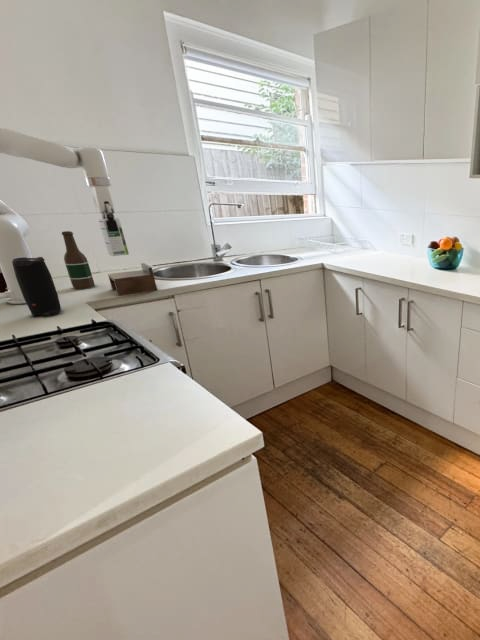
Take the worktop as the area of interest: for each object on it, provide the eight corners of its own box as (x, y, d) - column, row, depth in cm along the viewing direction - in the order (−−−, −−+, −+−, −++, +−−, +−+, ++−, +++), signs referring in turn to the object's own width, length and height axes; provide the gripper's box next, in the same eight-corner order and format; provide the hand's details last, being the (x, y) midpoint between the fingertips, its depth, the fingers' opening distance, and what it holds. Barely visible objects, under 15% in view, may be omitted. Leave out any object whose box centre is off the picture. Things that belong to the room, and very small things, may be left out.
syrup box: (112, 256, 155) (102, 219, 150) (108, 254, 159) (97, 218, 153) (129, 254, 160) (119, 218, 154) (124, 253, 163) (114, 217, 157)
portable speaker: (44, 318, 130) (23, 261, 122) (23, 316, 132) (1, 259, 124) (70, 311, 138) (51, 257, 130) (50, 309, 140) (31, 255, 132)
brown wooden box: (118, 295, 158) (112, 271, 154) (112, 289, 166) (105, 266, 163) (157, 290, 167) (151, 267, 164) (149, 284, 176) (144, 263, 172)
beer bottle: (99, 286, 172) (83, 231, 162) (81, 290, 165) (63, 233, 156) (86, 284, 173) (69, 230, 164) (68, 288, 166) (49, 232, 157)
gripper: (83, 182, 152) (96, 229, 159) (90, 182, 141) (104, 233, 147) (106, 182, 157) (118, 228, 163) (115, 183, 146) (127, 231, 152)
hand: (111, 230), depth 155 cm, fingers closed on syrup box, 6 cm apart
